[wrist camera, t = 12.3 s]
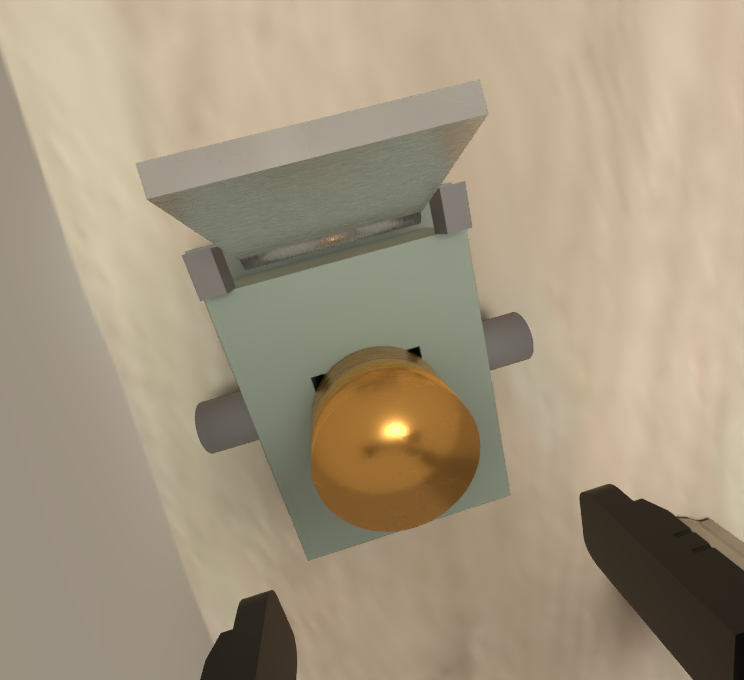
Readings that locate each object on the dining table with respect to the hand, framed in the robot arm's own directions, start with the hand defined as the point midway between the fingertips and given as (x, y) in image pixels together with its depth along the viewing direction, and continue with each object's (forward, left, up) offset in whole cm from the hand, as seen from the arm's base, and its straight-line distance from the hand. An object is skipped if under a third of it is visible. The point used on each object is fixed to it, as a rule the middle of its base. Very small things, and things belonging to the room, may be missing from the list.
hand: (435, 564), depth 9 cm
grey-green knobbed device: (0, 0, -15) cm, 15 cm away
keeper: (0, -8, -8) cm, 12 cm away
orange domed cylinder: (0, 0, -14) cm, 14 cm away
